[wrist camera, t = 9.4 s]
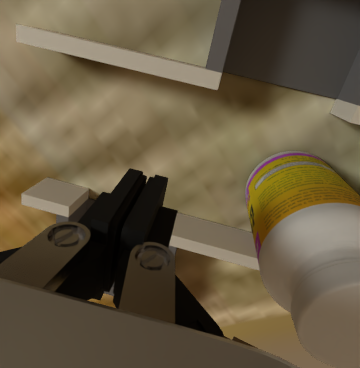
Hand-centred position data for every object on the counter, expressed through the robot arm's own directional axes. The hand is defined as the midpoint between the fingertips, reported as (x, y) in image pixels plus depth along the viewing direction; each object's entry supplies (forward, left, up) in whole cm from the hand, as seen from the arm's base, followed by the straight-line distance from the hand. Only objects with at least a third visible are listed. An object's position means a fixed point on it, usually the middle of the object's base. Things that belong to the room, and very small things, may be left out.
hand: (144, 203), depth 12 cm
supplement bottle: (+2, +9, -11) cm, 14 cm away
